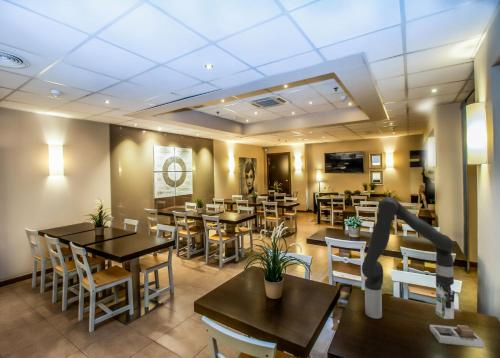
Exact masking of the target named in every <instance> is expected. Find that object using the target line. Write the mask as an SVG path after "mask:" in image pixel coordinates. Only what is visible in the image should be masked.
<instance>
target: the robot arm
mask: <svg viewBox="0 0 500 358" xmlns="http://www.w3.org/2000/svg"><path fill="white" fill-rule="evenodd" d="M377 213H378V214H377V217H376V218H377V219H376V222H375V225H374V227H373V229H372V233H371V236H370V240H369V244H368V247H367V252H366V254H365V258H364V259H363V262H362V265H361V272H362V274H363V276H364V277H366V278H367V279H366V280H365V282H364V302H365V303H364V305H365V306H364V307H365V310H364V311H365V315H366V316H367V317H368V318H371V319H381V318H382V317H383V316H382V315H383V311H382V310H383V305H382V302H383V301H382V299H383V298H382V297H383V296H382V287H383V282H384V267H383V265H382V263H381V262H380V261H378V260H379V258H380V257H381V255H382V254H383V253H384V252H385V250H386V249H387V246H388V244H389V240H390V235H391V227H392V223H393V221H394V217H395V216H397V217H398V218H399V219H401V220H402V221H404V223H405V224H407V225H408V227H410V229H412V230H413V231H414V232H416V233H417V234H418V235H420V236H422V237H424V239H427V240H428V241H430V242H431V244H433V245H434V247H435V252H436V256H435V259H436V260H435V261H436V262H435V264H436V265H435V286H436V287H439V288H441V289H442V290H443V291H445V292H447V293H448V295H446V294H444V296H445V300H446V301H445V304H446V308H449V309H451V302H454V303H455V291H454V290H452V288H451V286H452V285H454V281H455V280H454V279H455V278H454V277H455V276H454V275H455V274H454V273H455V272H454V258H453V255H452V250H453V249H454V246H455V243H454V241H453V240H452V239H451V237H450V236H448V235H447V234H443V233H441V232H440V231H438V230H437V229H436V228H435V227H434V226H432V225H430V224H429V223H428V222H426V221H424V220H423V219H421V218H420V217H418V216H417V215H415V214H414V213H413V212H411V211H410V210H408V209H407V208H406V207H404V205H403V204H401V203H400V202H399V201H398V200H396V199H395V198H394V197H391V196H386V197H384V198H382V199H381V200H380V203H379V206H378V212H377ZM436 287H435V288H436Z"/></svg>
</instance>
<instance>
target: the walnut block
mask: <svg viewBox="0 0 500 358" xmlns="http://www.w3.org/2000/svg"><path fill="white" fill-rule="evenodd" d="M456 327H457V334H458V335H459V336H460V337H462V338H472V339H474V333H475V332H474V330H473V329H471V327H469V326H468V325H461V324H456Z"/></svg>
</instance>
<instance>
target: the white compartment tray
mask: <svg viewBox="0 0 500 358" xmlns="http://www.w3.org/2000/svg"><path fill="white" fill-rule="evenodd" d="M429 331H430V332H431V333H432V335H434V337H435V338H436V340H437V341H438V342H439V344H447V345H455V346H456V345H457V346H464V347H472V348H473V347H474V348H481V349H482V348H483V349H484V347H485V346H484V341H483V340H482V339H481V338H480V337H479V336H478V335H477V334H476V333H475V332H474V339H472V338H462V337H460V336H459V335H458V334H457V326H449V325H439V324H429ZM443 334H449V335H443Z"/></svg>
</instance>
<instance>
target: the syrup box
mask: <svg viewBox="0 0 500 358" xmlns="http://www.w3.org/2000/svg"><path fill="white" fill-rule="evenodd" d="M444 294H446V295H448V293H447V292H445V291H443V290H442V289H441V288H439V287H435V314H436V315H438V317H440V318H441V319H443V320H454V319H455V301H454V302H451V309H449V308H446V304H445V301H446V300H445V296H444Z"/></svg>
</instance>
